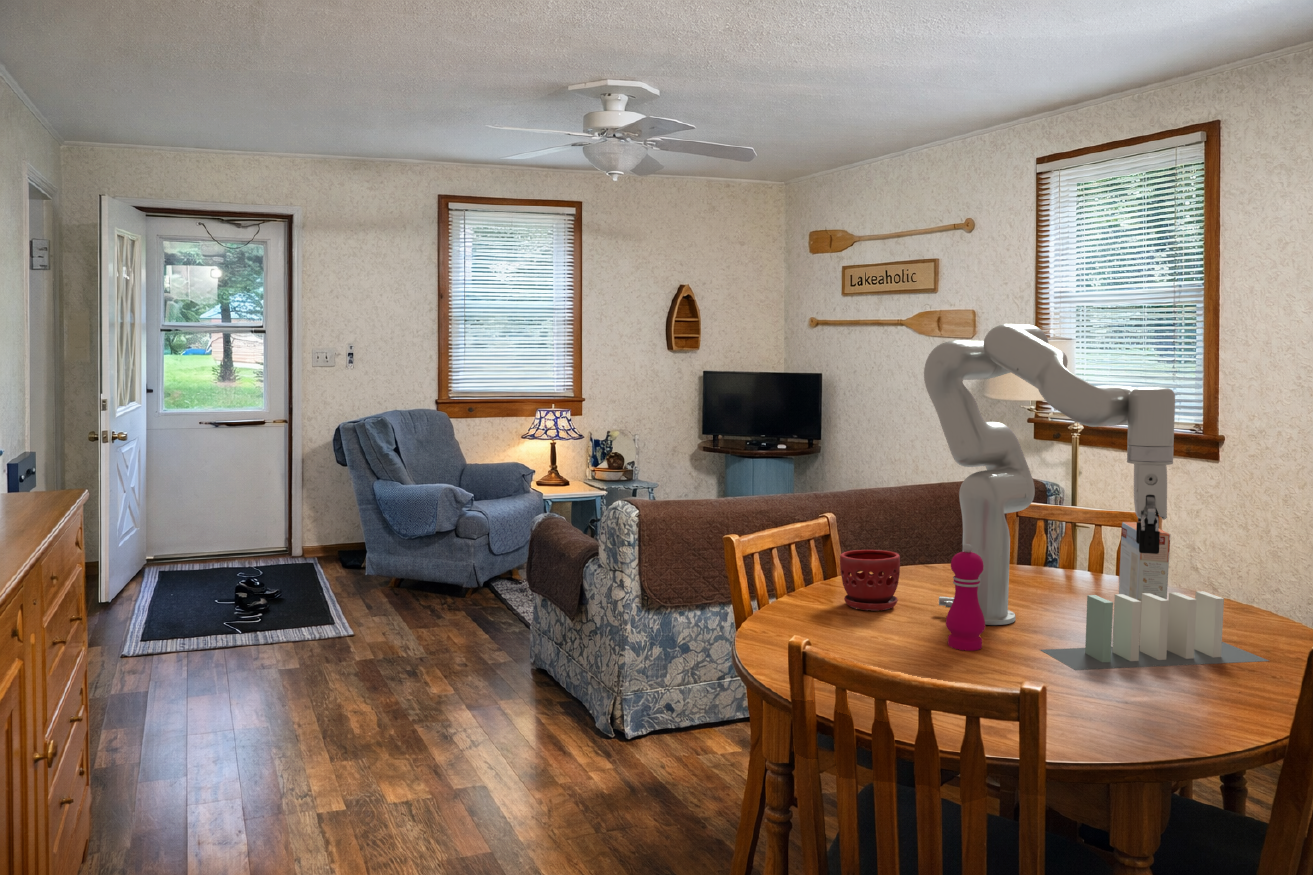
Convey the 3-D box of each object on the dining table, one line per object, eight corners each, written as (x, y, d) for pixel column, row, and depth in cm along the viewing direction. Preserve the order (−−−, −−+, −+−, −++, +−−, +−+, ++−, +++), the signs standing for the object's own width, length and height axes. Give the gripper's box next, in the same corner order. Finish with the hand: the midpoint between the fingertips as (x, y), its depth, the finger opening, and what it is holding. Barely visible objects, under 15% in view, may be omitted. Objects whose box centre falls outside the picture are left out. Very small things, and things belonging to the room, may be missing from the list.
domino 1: (1130, 661, 178) (1132, 601, 177) (1112, 652, 183) (1114, 594, 182) (1138, 660, 178) (1141, 601, 177) (1120, 651, 183) (1122, 594, 182)
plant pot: (896, 600, 224) (898, 548, 223) (901, 615, 211) (902, 560, 210) (839, 597, 226) (839, 546, 225) (839, 612, 213) (840, 558, 212)
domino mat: (1075, 672, 173) (1075, 669, 173) (1039, 652, 185) (1039, 649, 185) (1269, 663, 178) (1269, 660, 178) (1222, 644, 190) (1223, 641, 190)
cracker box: (1167, 637, 195) (1172, 533, 193) (1134, 635, 196) (1139, 532, 194) (1146, 618, 208) (1151, 521, 207) (1116, 617, 210) (1120, 520, 208)
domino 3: (1185, 658, 179) (1188, 599, 178) (1166, 649, 185) (1168, 592, 184) (1193, 658, 179) (1196, 599, 178) (1174, 649, 185) (1176, 592, 184)
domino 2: (1158, 659, 178) (1160, 600, 178) (1139, 650, 184) (1141, 593, 183) (1166, 659, 179) (1169, 600, 178) (1147, 650, 184) (1149, 593, 183)
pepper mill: (964, 653, 184) (967, 548, 182) (937, 643, 190) (939, 542, 188) (992, 648, 187) (995, 545, 185) (964, 638, 193) (967, 539, 192)
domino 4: (1213, 657, 180) (1216, 598, 179) (1192, 648, 185) (1195, 591, 184) (1221, 657, 180) (1224, 598, 179) (1200, 648, 186) (1203, 591, 185)
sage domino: (1102, 662, 177) (1104, 602, 176) (1085, 653, 182) (1087, 595, 181) (1110, 661, 177) (1113, 602, 176) (1093, 652, 183) (1095, 594, 182)
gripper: (1177, 460, 168) (1174, 558, 170) (1169, 451, 184) (1166, 541, 185) (1129, 458, 171) (1126, 555, 172) (1125, 450, 187) (1122, 539, 188)
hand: (1147, 548), depth 179 cm, fingers open, 9 cm apart
